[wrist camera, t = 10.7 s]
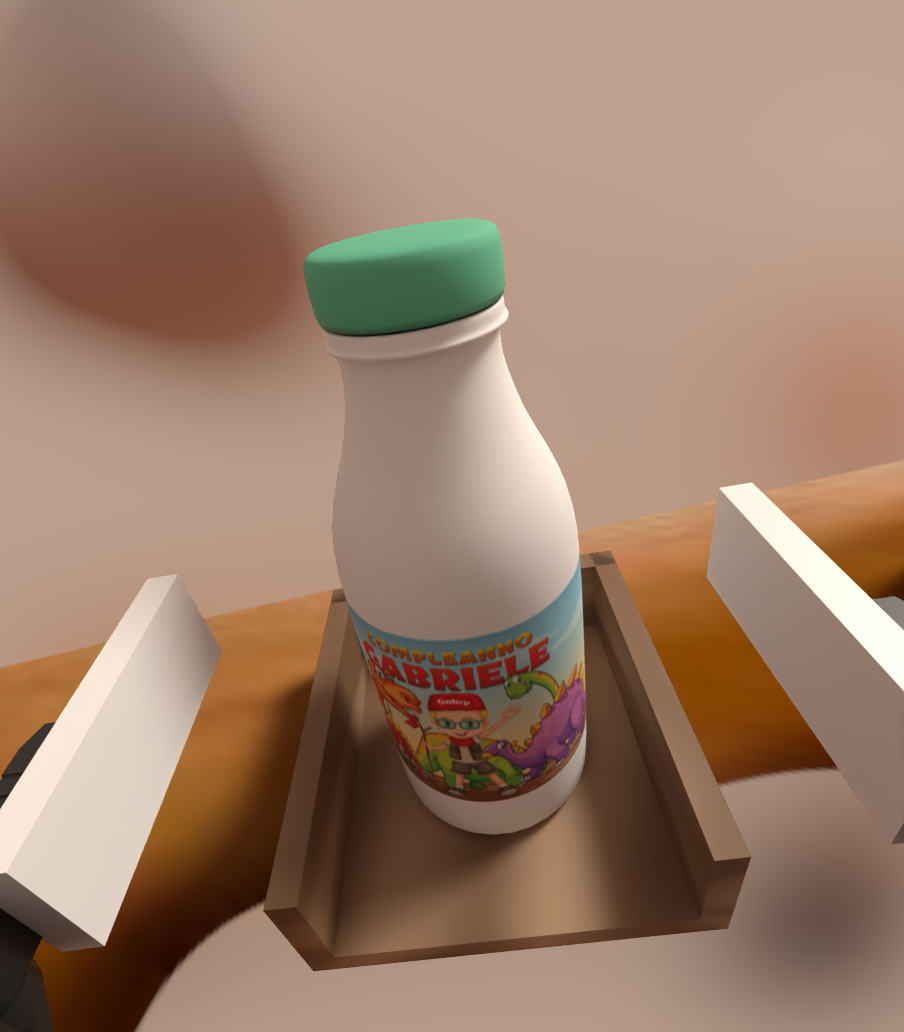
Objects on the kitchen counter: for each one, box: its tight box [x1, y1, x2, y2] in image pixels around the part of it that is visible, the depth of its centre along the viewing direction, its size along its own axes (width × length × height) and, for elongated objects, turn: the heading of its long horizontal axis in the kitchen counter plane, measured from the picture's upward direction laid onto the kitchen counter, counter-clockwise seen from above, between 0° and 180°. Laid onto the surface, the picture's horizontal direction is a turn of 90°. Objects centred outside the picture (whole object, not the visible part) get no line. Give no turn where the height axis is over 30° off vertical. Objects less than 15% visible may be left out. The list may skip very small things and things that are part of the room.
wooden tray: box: [263, 551, 751, 971], centre depth 23 cm, size 14×15×5 cm
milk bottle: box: [303, 219, 586, 835], centre depth 18 cm, size 8×8×20 cm
